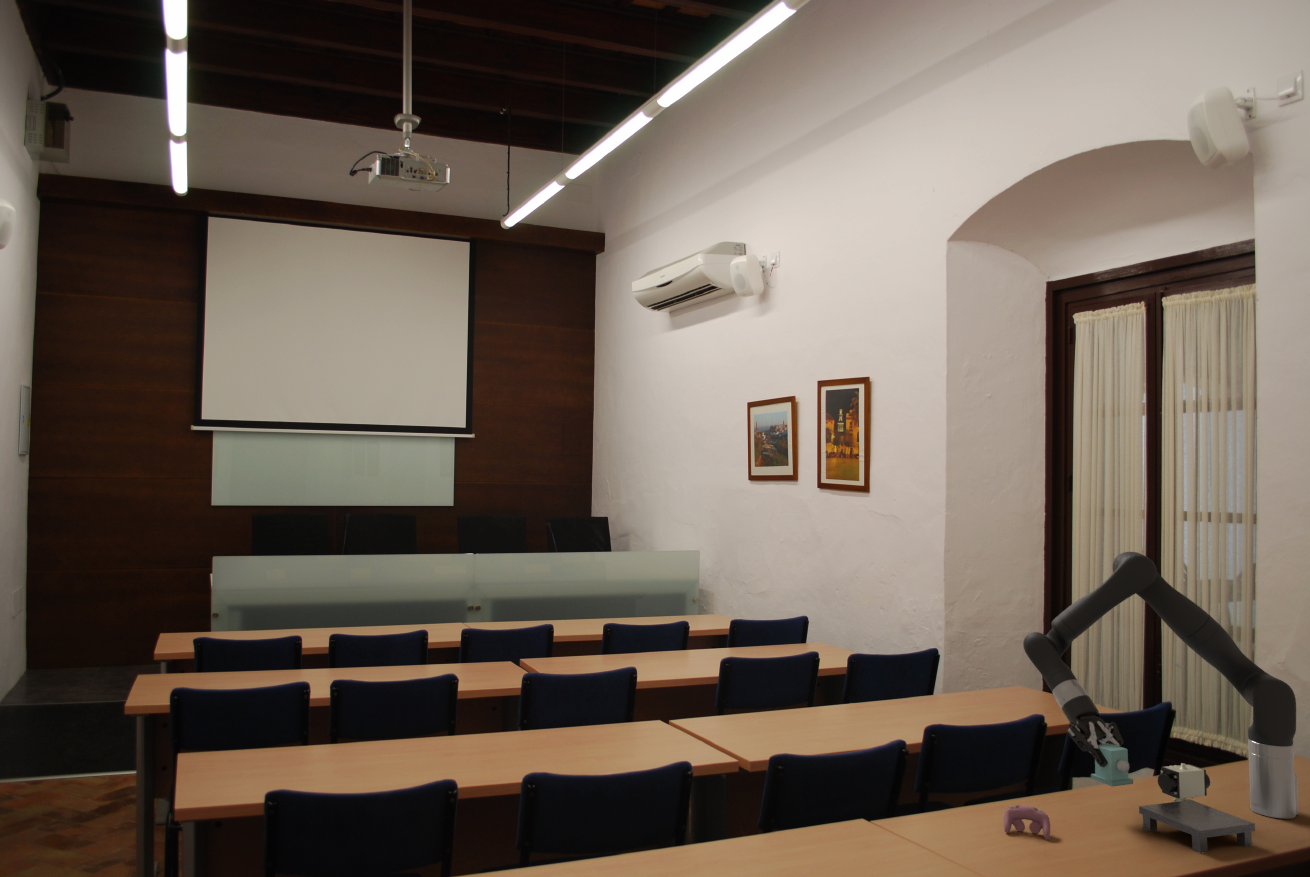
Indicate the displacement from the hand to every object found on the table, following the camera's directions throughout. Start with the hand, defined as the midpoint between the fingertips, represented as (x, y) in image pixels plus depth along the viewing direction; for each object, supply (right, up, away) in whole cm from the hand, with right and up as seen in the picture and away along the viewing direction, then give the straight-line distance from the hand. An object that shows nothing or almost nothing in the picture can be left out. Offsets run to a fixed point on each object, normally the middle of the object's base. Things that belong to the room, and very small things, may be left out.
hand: (1114, 764), depth 211 cm
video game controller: (-25, -13, -9) cm, 30 cm away
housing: (0, -4, 0) cm, 4 cm away
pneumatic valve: (+20, -14, +5) cm, 25 cm away
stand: (+13, -13, -11) cm, 21 cm away
